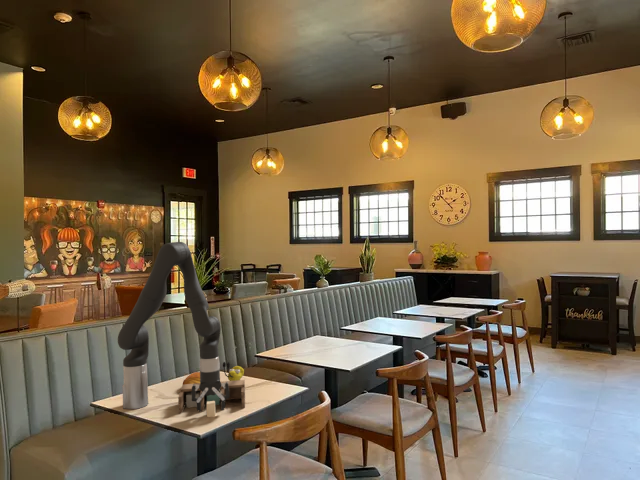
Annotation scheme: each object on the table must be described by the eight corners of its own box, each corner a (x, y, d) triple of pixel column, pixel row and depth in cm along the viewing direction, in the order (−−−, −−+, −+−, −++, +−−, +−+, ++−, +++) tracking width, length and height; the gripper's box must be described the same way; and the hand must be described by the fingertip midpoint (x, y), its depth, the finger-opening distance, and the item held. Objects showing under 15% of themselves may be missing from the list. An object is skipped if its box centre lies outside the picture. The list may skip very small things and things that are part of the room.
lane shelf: (178, 413, 185) (178, 394, 185) (183, 402, 198) (182, 384, 198) (244, 407, 188) (244, 389, 188) (245, 397, 202) (244, 379, 202)
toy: (248, 358, 218) (231, 362, 204) (247, 389, 216) (230, 395, 202) (236, 357, 220) (219, 361, 206) (235, 388, 218) (218, 394, 205)
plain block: (186, 407, 191) (186, 395, 191) (188, 403, 196) (187, 391, 196) (199, 406, 192) (198, 394, 192) (200, 402, 197) (200, 390, 197)
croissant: (178, 397, 211) (176, 380, 210) (192, 382, 226) (190, 366, 225) (209, 397, 209) (207, 380, 208) (220, 381, 224) (218, 365, 223)
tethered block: (204, 417, 180) (203, 404, 180) (208, 401, 197) (207, 389, 197) (217, 416, 180) (217, 403, 180) (220, 400, 198) (219, 388, 198)
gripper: (189, 372, 177) (191, 415, 177) (228, 369, 179) (229, 412, 179) (192, 367, 184) (193, 408, 184) (228, 364, 186) (230, 405, 186)
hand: (211, 410), depth 181 cm, fingers open, 8 cm apart
